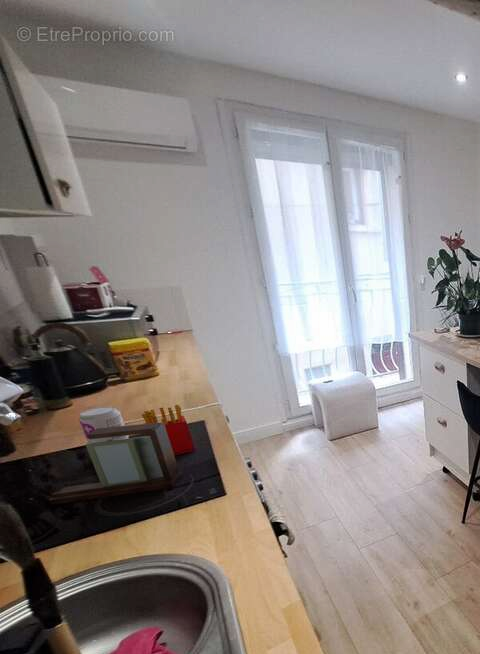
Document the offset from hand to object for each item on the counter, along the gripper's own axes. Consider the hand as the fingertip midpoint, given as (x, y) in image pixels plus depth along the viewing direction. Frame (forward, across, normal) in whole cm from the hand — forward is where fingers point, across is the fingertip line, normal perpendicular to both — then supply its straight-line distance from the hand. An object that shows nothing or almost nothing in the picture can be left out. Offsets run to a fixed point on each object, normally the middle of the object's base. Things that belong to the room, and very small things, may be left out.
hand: (15, 421), depth 93 cm
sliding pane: (+24, 0, +3) cm, 25 cm away
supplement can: (+17, +22, +13) cm, 31 cm away
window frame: (+24, +1, +6) cm, 25 cm away
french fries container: (+28, +21, +3) cm, 35 cm away
